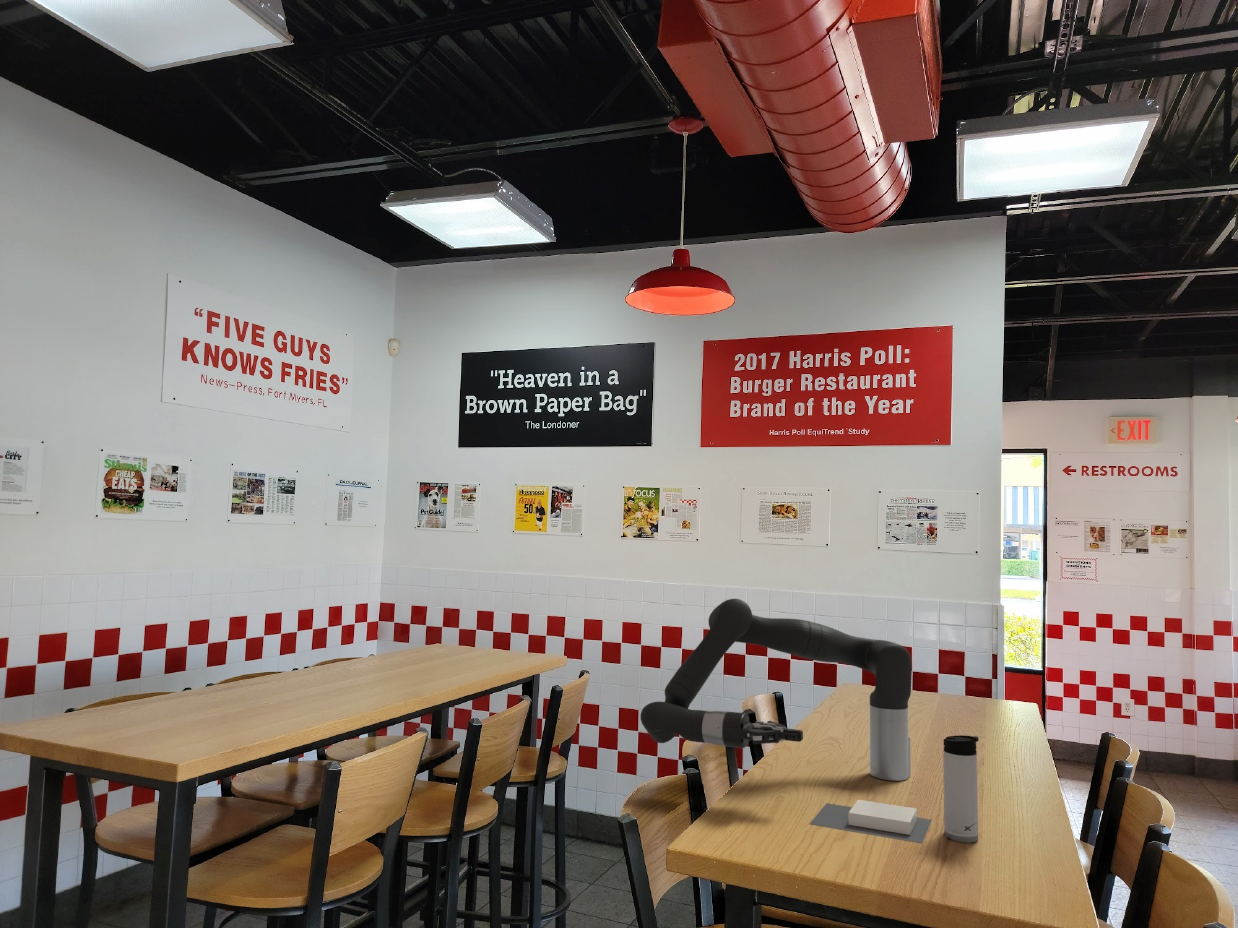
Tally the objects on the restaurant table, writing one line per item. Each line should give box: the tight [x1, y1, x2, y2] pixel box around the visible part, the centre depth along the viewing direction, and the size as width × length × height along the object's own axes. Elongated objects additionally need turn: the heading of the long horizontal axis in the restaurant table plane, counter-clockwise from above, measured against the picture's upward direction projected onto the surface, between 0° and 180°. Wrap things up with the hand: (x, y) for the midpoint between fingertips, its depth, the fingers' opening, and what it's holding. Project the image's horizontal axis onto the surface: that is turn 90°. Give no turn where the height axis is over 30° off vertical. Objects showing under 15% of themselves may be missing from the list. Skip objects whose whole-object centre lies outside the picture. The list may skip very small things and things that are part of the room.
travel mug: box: [942, 734, 979, 844], centre depth 170 cm, size 6×7×20 cm
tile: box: [849, 799, 918, 835], centre depth 176 cm, size 3×10×12 cm
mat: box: [808, 802, 932, 844], centre depth 176 cm, size 22×16×1 cm
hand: (802, 735), depth 184 cm, fingers closed
